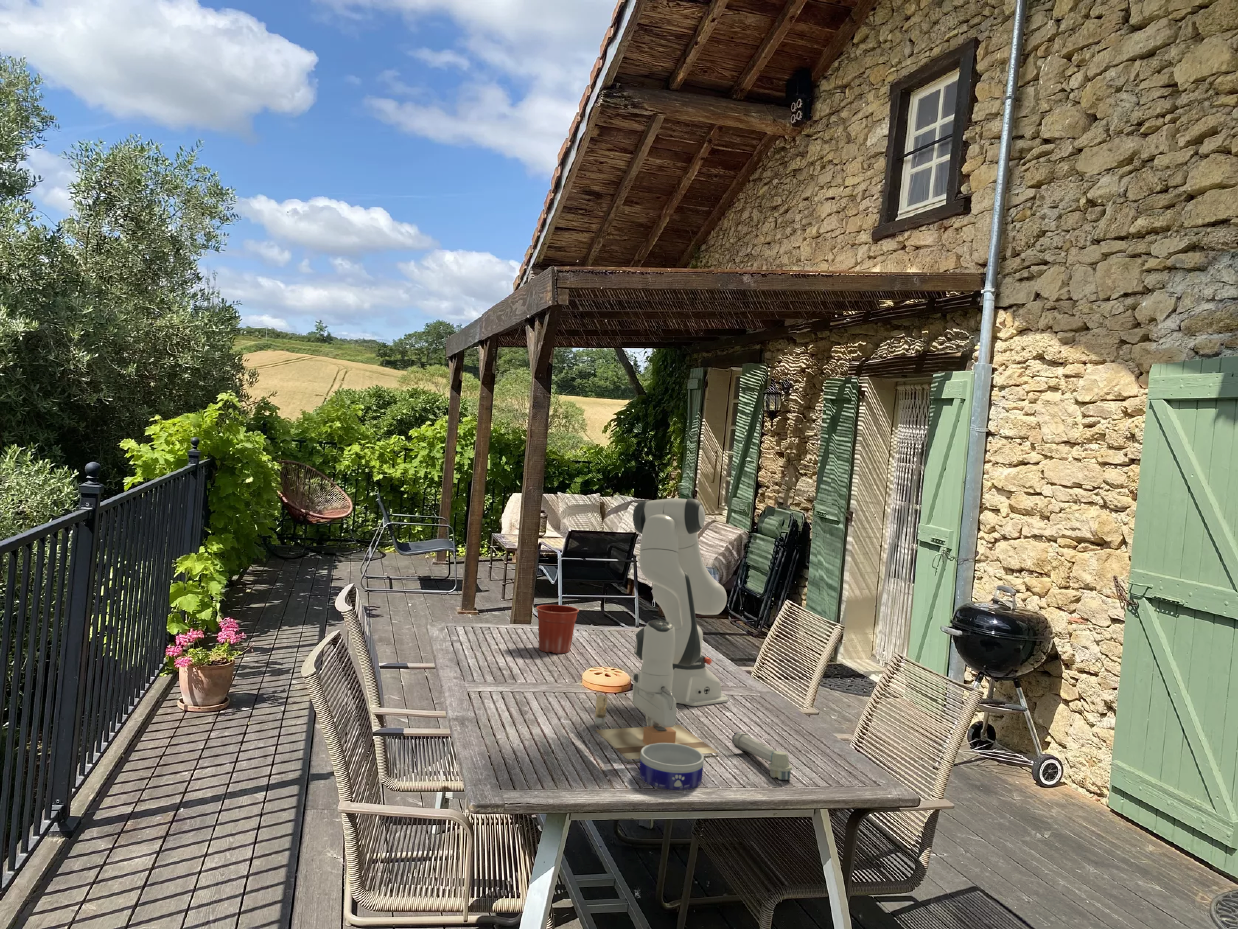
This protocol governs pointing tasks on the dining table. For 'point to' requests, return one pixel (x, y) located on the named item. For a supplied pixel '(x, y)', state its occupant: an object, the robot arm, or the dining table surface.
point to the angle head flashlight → (764, 754)
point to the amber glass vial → (600, 710)
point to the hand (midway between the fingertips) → (651, 733)
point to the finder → (658, 735)
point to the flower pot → (556, 627)
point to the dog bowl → (671, 766)
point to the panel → (632, 744)
